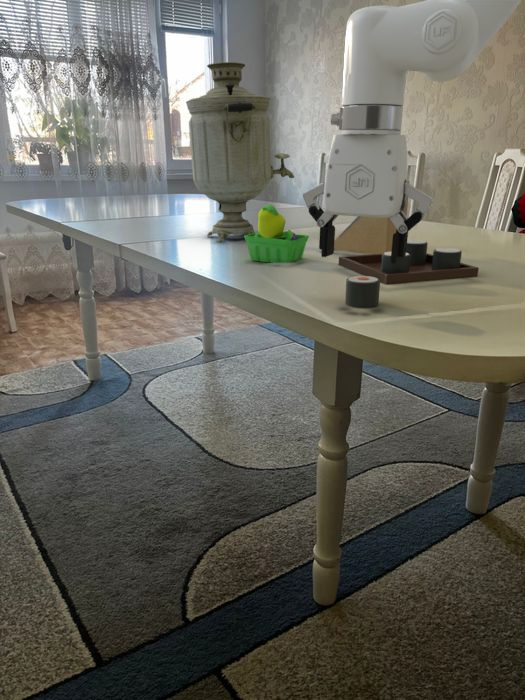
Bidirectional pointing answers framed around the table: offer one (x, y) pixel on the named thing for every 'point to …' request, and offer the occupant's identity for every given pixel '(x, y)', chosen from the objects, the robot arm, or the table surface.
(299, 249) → the fruit basket
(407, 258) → the corner roll
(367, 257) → the tray
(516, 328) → the table surface
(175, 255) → the table surface
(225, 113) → the samovar
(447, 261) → the corner roll
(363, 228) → the sandwich container
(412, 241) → the corner roll
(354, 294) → the maki roll
